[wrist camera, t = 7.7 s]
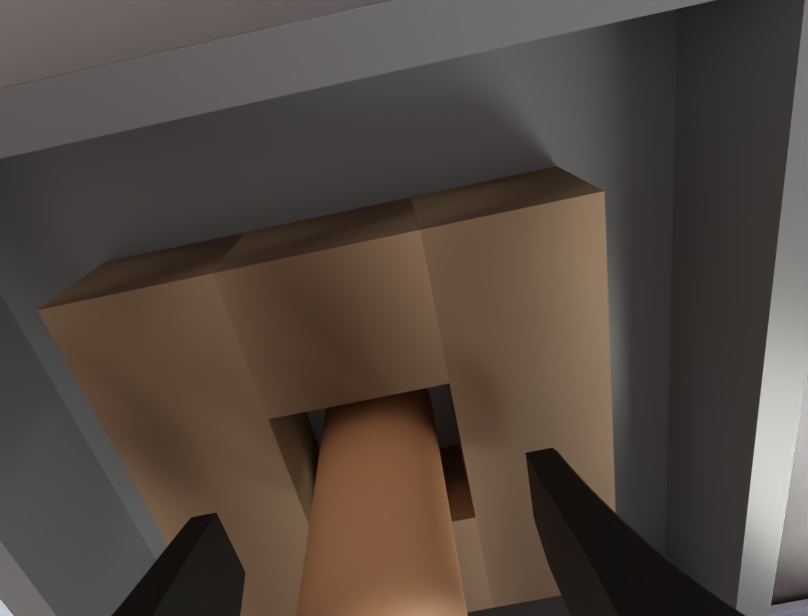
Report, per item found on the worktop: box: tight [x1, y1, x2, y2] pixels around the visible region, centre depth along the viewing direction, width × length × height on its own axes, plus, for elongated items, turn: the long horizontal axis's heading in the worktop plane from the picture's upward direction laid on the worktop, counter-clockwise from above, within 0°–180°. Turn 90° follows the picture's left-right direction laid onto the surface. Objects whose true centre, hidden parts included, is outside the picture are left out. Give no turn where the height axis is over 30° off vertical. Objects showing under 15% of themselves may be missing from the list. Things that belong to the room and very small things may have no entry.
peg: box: [296, 388, 468, 616], centre depth 13 cm, size 3×3×7 cm
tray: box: [0, 0, 808, 616], centre depth 14 cm, size 20×20×4 cm
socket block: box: [37, 166, 616, 616], centre depth 15 cm, size 12×12×3 cm
